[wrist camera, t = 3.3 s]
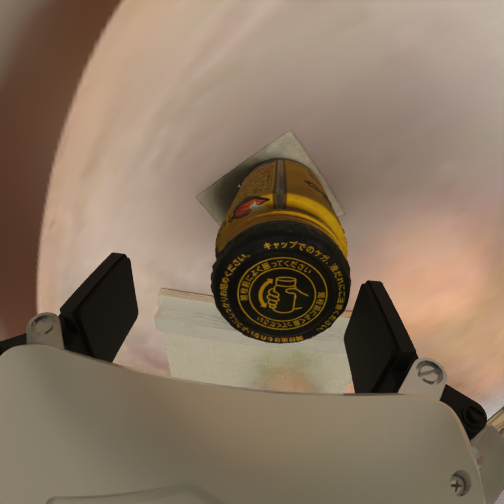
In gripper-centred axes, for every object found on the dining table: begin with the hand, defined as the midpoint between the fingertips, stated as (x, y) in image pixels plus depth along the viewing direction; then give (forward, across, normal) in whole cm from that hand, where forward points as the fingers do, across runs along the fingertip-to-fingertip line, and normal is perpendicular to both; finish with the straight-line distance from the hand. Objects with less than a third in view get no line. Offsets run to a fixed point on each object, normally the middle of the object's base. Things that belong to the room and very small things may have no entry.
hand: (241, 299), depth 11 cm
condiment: (+12, -1, 0) cm, 12 cm away
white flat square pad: (+12, -2, +18) cm, 21 cm away
